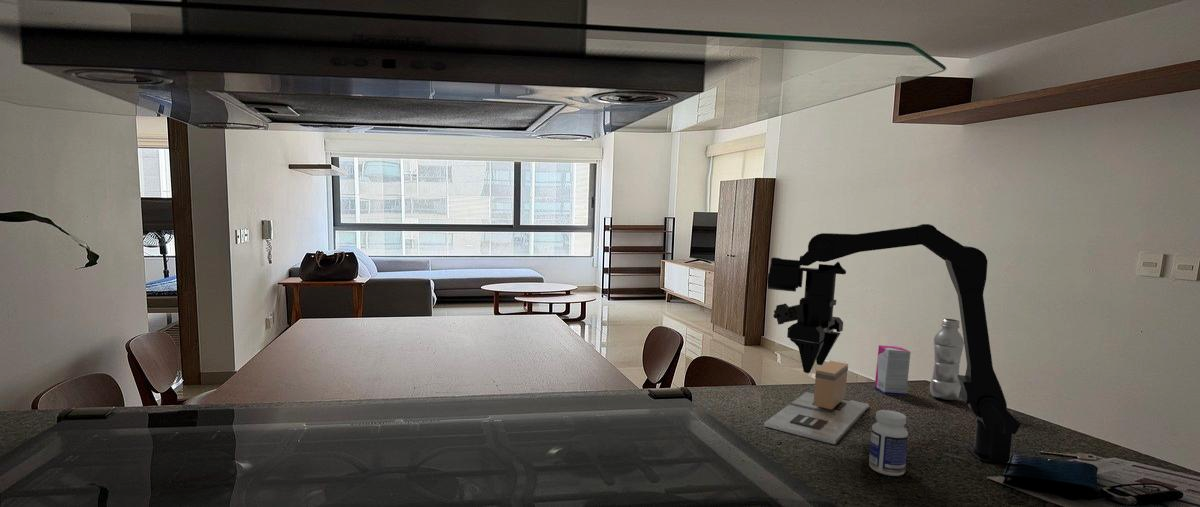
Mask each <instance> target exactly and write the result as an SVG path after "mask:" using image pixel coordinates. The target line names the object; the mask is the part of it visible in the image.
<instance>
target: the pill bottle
mask: <svg viewBox="0 0 1200 507" xmlns="http://www.w3.org/2000/svg"><path fill="white" fill-rule="evenodd" d="M875 420H876V422H874V423H873V424H872V426H871V430H870V431H871V434H870V443H869V444H870V445H869V457H868V458H869V461H868V464H869V467H870V468H871V469H872V470H873V471H874V472H877V473H879V474H882V475H885V476H891V477H892V476H894V477H900V476H903V475H904V474H905V473H906V465H907V457H908V456H907V453H908V443H909V432H908V430H907V428H905V425H906V424H907V415H905V414H903V413H901V412H898V411H894V410H887V409H881V410H877V411H876V412H875Z"/></svg>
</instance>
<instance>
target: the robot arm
mask: <svg viewBox="0 0 1200 507" xmlns="http://www.w3.org/2000/svg"><path fill="white" fill-rule="evenodd" d="M920 245H922V246H923V247H925V248H926V249H927V250H929V251H931V252H932V253H934V254H935V255H936V256H938V257H939V258H940V259H942V260H944V262H945V266H946V269H947V271H948V274H949V278H950V280H951V283H952V285H953V287H954V290H955V292H956V295H957V300H958V307H959V316H960V323H961V330H962V335H963V336H962V338H963V340H964V350H965V358H966V370H965V374H964V375H961V374H959V375H957V377H958V380H959V383H960V393H959V397H960V398H961V399H962V400H963V401H964V403H965V404H966V405H967V406H968V407H969V409H970V410H971V412H973V414H974V415H975V417H977V419H976V424H975V425H976V426H975V433H974V442H973V444H974V445H965V449H967V450H968V452H970V453H971V454H972V455H973V456H974V457H975V458H977V459H978V460H979V461H981V462H986V463H987V462H989V463H994V464H996V463H997V464H1005V465H1008V464H1007V462H1008V461H1009V459H1010V456H1011V454H1012V453H1011V452H1012V451H1011V450H1012V446H1013V445H1012V443H1013V435H1015V434H1017V432H1018V431H1019V429H1020V427H1021V423H1020V422H1019V420H1018V419H1016V417H1014V415H1013V414H1011V412H1010V411H1009V410H1008V409H1007V408H1008V404H1007V400H1006V397H1005V395H1004V392H1003V389H1002V386H1001V384H1000V382H999V379H998V377H997V374H996V372H995V370H994V367H993V360H992V357H993V356H992V352H991V351H992V350H991V344H990V343H991V342H990V336H989V328H988V323H987V322H988V321H987V316H986V315H987V313H986V307H985V299H984V291H985V286H986V282H987V275H988V258H987V255H986V253H985V252H983V251H982V250H980V249H979V248H976V247H973V246H968V245H964V244H961V243H960V242H958V241H956V239H955V240H954V239H953V238H951V237H950V236H948V235H946V234H945V233H943V232H942V231H940V230H938V229H937V227H936V226H935V225H933V224H929V223H928V224H927V223H921V224H919V225H916V226H909V227H908V226H907V227H900V228H893V229H886V230H885V229H884V230H878V231H870V232H863V233H854V234H853V233H835V232H834V233H832V232H831V233H828V232H827V233H826V232H824V233H823V232H821V233H818V234H816V235H814V236H812V238H811V239H810V240H809V241H808V244H807V251H806V252H805V253H804V254H803V255H800V256H799V259H789V258H788V259H787V258H786V259H785V258H781V257H774V256H773V257H772V258H771V259H770V266H769V272H768V273H767V289H768V290H771V291H772V290H775V291H783V292H784V291H785V292H793V293H794V292H795V293H796V291H797V289H798V288H802V287H803V279H804V272H806V274H805V283H804V284H805V286H804V287H805V288H804V297H801V298H800V299H799V302H798V303H799V304H795V305H790V306H789V305H788V304H787V303H781V304H778V305H777V304H776V307H775V310H773V313H774V314H772V315H773V318H774V319H776V321H777V325H783V324H785V323H789V322H794V321H797V322H795V323H793V324H792V325H790V326H788V327H787V335H786V338H788V339H789V340H790V341H791V342H792V343H793V344H795V345H796V347H797V348H798V352H799V356H800V357H799V358H800V361H801V366H802V369H803V370H802V371H803V373H806V374H809V373H811V371H812V369H813V366H814V365H815V363H816V365H818V366H823V364H824V363H825V360H827V357H828V355H829V354H830V352H831V350H832V348H833V347H834V345H835V343H836V342H837V340H838V338H839V337H840V336H841V332H842V331H844V330H843V329H844V321H843V320H842V318H840V317H839V316H834V314H833V313H834V306H836V305H837V299H835V292H836V279H837V278H836V277H837V275H846V274H847V270H846V269H845V268H843V267H842V265H841V263H840V261H836V262H835V263H834V264H825V263H826V262H827V263H828V262H830V261H833V260H838V259H841V258H844V257H848V256H850V255H854V254H858V253H860V252H861V253H863V252H870V251H878V250H879V251H880V250H887V249H895V248H903V247H912V246H920ZM816 262H819V264H818V268H814V267H812V268H811V267H807V266H811V265H813V264H814V263H816ZM821 262H822V263H821ZM801 266H802V267H801ZM803 266H805V267H803ZM834 330H836V331H834Z"/></svg>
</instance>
